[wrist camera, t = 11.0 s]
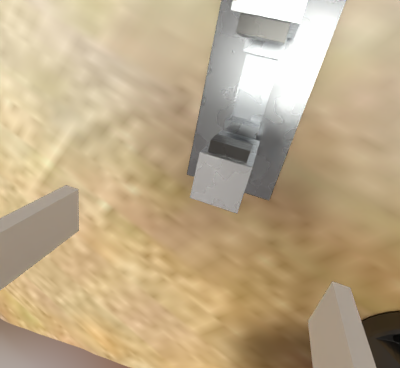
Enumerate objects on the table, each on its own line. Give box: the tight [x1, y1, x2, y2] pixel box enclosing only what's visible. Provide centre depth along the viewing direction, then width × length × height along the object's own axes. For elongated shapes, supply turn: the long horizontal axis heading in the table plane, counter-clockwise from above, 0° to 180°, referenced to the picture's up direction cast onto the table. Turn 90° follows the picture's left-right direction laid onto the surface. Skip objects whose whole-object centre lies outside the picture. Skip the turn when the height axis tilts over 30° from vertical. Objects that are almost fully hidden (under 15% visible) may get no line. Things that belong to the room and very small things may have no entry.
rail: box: [187, 0, 346, 200], centre depth 21 cm, size 22×10×10 cm, turn 169°
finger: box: [190, 130, 260, 213], centre depth 23 cm, size 5×4×8 cm
